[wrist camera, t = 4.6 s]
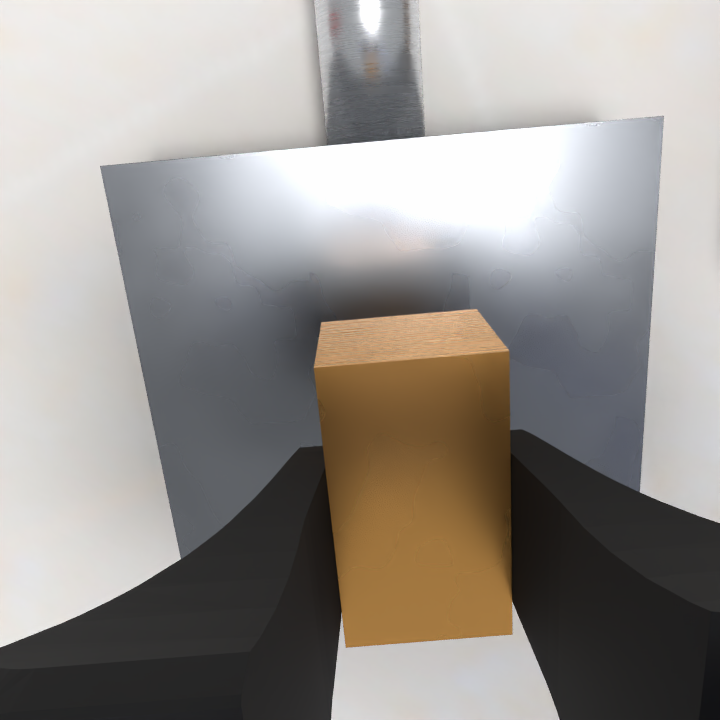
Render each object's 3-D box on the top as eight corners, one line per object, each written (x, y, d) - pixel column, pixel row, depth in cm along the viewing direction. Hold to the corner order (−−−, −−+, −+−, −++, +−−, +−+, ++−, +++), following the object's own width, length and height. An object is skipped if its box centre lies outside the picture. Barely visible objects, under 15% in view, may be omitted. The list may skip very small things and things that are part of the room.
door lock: (587, 516, 21) (633, 587, 17) (219, 546, 21) (193, 622, 17) (611, -153, 15) (686, -238, 11) (101, -104, 15) (30, -175, 12)
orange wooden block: (452, 455, 17) (512, 634, 11) (347, 464, 17) (345, 647, 11) (445, 268, 15) (509, 350, 9) (328, 278, 15) (313, 367, 9)
